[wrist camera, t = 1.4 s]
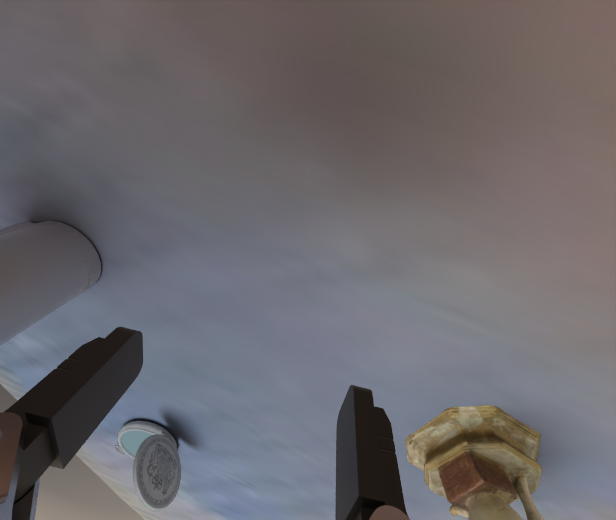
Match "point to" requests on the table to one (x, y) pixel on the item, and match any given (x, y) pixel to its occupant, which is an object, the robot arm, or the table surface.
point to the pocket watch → (151, 462)
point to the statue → (479, 462)
